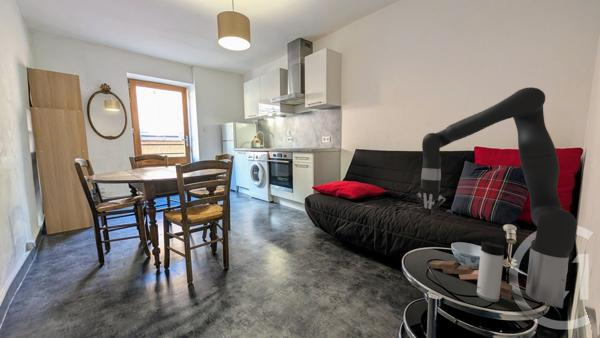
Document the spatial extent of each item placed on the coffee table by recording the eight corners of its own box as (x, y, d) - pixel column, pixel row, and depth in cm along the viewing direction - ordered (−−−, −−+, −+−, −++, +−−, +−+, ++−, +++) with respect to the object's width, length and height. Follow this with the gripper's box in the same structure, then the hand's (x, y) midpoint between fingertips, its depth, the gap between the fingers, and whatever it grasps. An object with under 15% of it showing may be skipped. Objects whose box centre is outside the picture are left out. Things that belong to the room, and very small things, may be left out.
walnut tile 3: (480, 279, 94) (511, 289, 87) (477, 283, 90) (509, 295, 83) (480, 274, 94) (512, 285, 87) (477, 279, 90) (510, 290, 83)
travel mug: (473, 295, 84) (478, 241, 82) (480, 289, 88) (485, 238, 86) (495, 305, 79) (501, 248, 77) (501, 298, 83) (507, 243, 81)
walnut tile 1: (434, 264, 106) (457, 265, 100) (430, 268, 103) (454, 269, 96) (433, 260, 107) (456, 260, 100) (429, 264, 103) (453, 264, 96)
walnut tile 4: (481, 284, 93) (513, 296, 86) (477, 288, 90) (510, 301, 83) (482, 279, 93) (513, 291, 86) (478, 283, 90) (510, 296, 83)
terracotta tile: (464, 275, 98) (491, 274, 91) (460, 279, 95) (487, 278, 88) (462, 270, 98) (489, 269, 91) (458, 274, 95) (485, 273, 88)
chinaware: (498, 275, 98) (500, 258, 97) (459, 272, 100) (461, 254, 100) (477, 259, 113) (479, 243, 112) (444, 256, 115) (445, 241, 115)
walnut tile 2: (447, 269, 103) (472, 270, 96) (443, 273, 99) (469, 274, 92) (446, 265, 103) (471, 265, 96) (442, 268, 100) (467, 269, 93)
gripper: (411, 177, 107) (409, 214, 108) (444, 180, 97) (441, 221, 98) (419, 176, 112) (416, 211, 113) (450, 179, 102) (447, 218, 103)
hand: (428, 216), depth 106 cm, fingers closed
